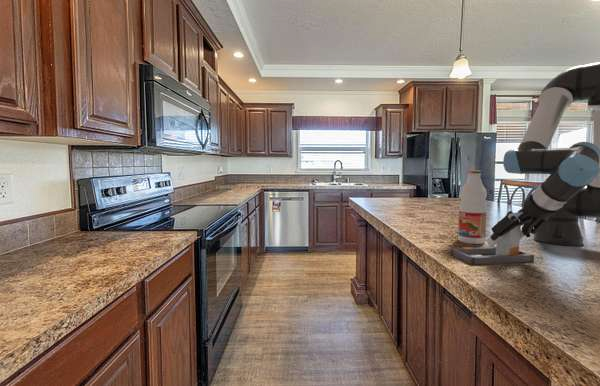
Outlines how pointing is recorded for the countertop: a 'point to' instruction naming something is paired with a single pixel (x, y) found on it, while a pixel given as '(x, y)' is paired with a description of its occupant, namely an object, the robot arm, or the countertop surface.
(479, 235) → the fruit juice
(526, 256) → the slide track
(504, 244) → the skincare box
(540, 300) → the countertop surface
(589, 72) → the robot arm
